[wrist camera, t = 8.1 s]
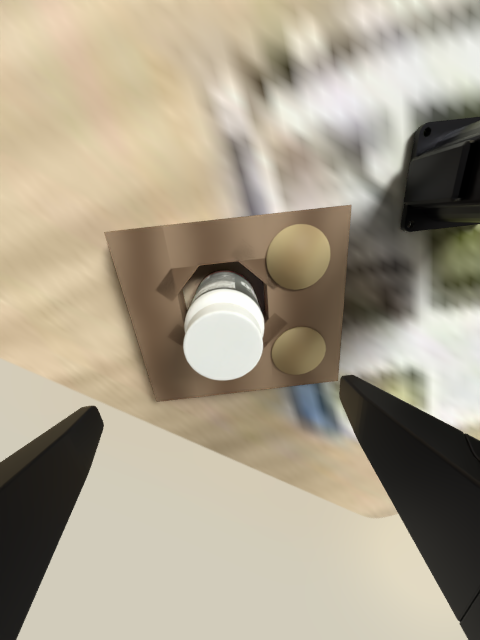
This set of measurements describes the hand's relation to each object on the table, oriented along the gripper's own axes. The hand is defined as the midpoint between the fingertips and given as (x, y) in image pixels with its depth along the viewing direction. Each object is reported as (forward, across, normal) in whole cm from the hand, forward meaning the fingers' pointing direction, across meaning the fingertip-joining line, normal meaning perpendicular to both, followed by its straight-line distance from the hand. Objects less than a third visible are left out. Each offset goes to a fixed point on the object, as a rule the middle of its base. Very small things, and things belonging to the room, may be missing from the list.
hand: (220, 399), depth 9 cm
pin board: (+12, -1, +1) cm, 12 cm away
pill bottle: (+12, 0, 0) cm, 12 cm away
